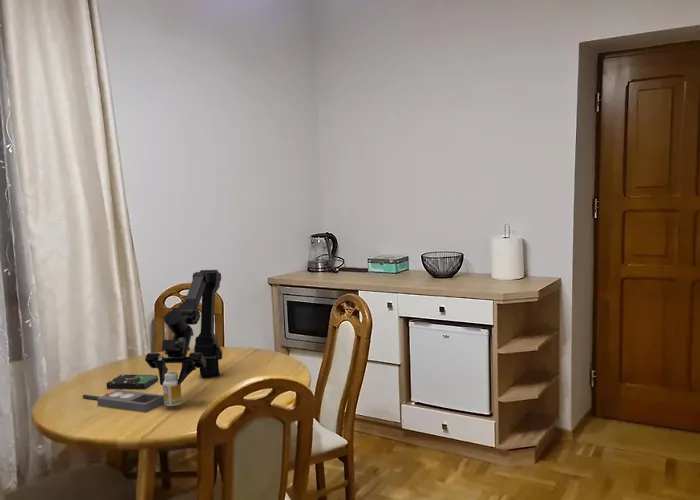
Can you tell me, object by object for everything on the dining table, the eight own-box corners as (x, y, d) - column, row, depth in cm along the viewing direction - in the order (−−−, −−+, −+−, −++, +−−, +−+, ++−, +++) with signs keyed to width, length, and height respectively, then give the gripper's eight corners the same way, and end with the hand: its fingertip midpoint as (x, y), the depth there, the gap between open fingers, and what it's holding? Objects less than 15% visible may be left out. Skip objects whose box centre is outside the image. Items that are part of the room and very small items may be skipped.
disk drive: (106, 390, 224) (145, 390, 222) (105, 383, 224) (145, 383, 222) (121, 381, 235) (158, 381, 232) (120, 374, 234) (158, 374, 232)
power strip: (164, 402, 207) (164, 393, 207) (145, 412, 199) (144, 402, 198) (93, 393, 220) (92, 384, 219) (72, 402, 212) (71, 393, 211)
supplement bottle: (184, 400, 204) (182, 370, 203) (178, 406, 199) (176, 376, 198) (167, 400, 205) (165, 371, 204) (161, 406, 199) (159, 376, 198)
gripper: (145, 328, 204) (131, 372, 195) (200, 328, 202) (190, 372, 192) (157, 346, 213) (145, 388, 203) (210, 345, 211) (201, 388, 201)
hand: (169, 384), depth 200 cm, fingers closed on supplement bottle, 5 cm apart
